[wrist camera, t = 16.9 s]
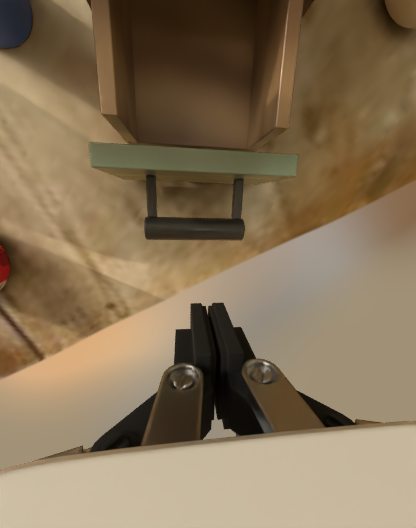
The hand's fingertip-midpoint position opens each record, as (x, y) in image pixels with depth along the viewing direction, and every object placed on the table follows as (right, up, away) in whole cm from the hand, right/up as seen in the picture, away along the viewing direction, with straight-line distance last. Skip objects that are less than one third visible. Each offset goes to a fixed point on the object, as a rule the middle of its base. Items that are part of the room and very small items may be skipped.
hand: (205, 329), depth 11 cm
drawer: (-1, +14, +6) cm, 16 cm away
